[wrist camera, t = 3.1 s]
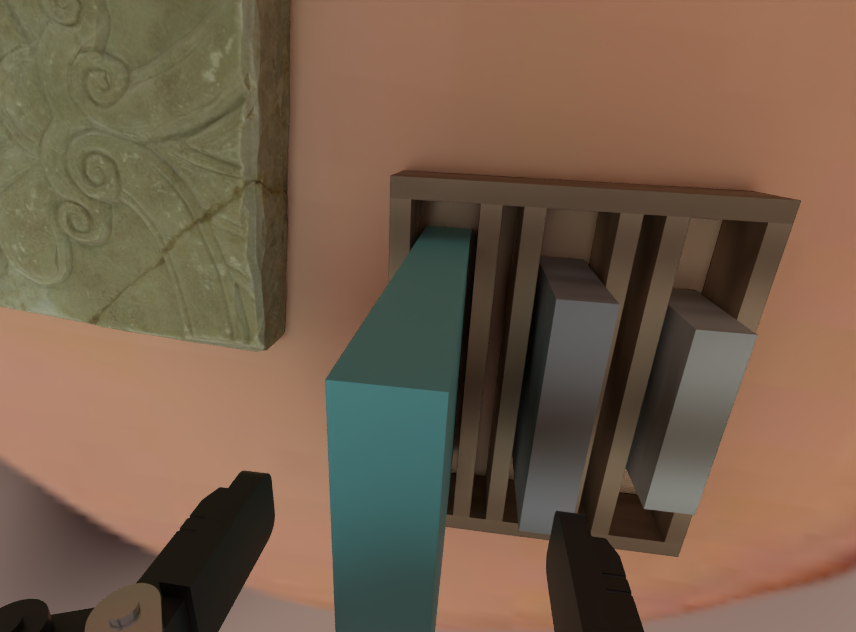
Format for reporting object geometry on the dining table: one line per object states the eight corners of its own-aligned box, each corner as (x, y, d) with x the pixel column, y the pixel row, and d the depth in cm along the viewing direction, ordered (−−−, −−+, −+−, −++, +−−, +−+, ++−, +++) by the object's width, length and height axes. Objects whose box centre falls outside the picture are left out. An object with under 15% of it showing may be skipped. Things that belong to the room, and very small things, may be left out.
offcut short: (647, 285, 20) (695, 329, 16) (694, 289, 20) (757, 334, 15) (611, 434, 23) (643, 508, 18) (652, 439, 23) (695, 514, 18)
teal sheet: (426, 225, 20) (325, 379, 7) (471, 228, 20) (448, 392, 7) (416, 445, 25) (342, 785, 12) (453, 449, 25) (418, 798, 12)
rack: (404, 170, 19) (390, 175, 17) (752, 191, 18) (801, 200, 15) (395, 477, 26) (384, 518, 23) (655, 509, 24) (678, 556, 22)
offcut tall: (536, 255, 20) (556, 299, 15) (582, 258, 20) (619, 304, 15) (510, 439, 24) (518, 530, 18) (549, 444, 24) (569, 537, 18)
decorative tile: (289, 336, 24) (257, 369, 20) (-67, 265, 25) (-152, 285, 21) (311, -116, 17) (269, -179, 13) (-187, -192, 18) (-343, -269, 14)
